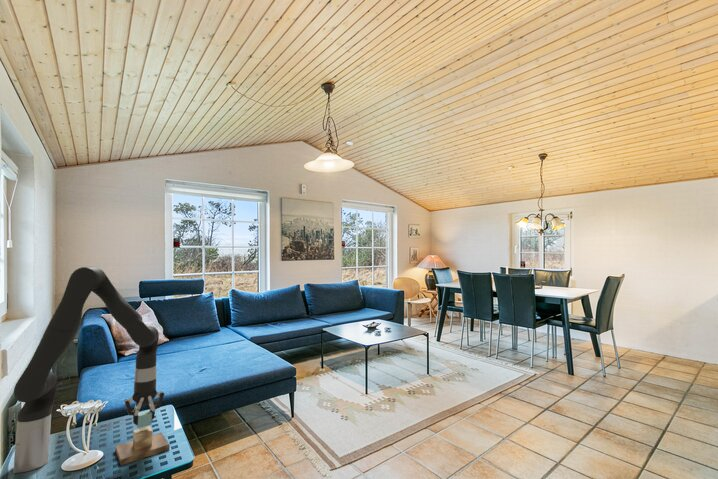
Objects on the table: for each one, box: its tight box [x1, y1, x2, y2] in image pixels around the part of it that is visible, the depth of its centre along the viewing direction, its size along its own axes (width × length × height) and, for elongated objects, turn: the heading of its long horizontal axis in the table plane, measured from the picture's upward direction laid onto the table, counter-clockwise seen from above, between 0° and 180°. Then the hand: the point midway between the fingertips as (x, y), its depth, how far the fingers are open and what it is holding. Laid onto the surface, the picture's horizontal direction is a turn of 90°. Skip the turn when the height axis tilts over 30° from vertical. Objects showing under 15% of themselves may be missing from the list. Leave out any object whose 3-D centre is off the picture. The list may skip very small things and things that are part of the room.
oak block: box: [132, 425, 153, 450], centre depth 136 cm, size 6×6×6 cm
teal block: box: [135, 409, 153, 429], centre depth 136 cm, size 4×4×4 cm
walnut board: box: [114, 432, 171, 466], centre depth 135 cm, size 16×13×2 cm
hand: (143, 422), depth 136 cm, fingers closed on teal block, 4 cm apart
